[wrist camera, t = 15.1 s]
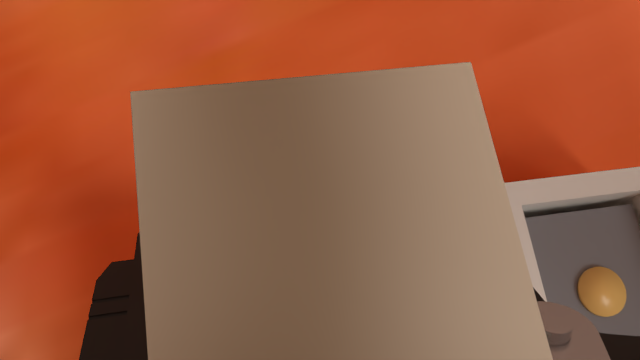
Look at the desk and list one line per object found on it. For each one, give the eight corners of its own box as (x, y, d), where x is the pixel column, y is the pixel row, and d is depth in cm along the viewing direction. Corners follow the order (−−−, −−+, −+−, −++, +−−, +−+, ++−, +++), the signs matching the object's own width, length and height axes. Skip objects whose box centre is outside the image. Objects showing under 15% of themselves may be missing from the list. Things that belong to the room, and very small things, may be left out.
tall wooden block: (350, 243, 17) (470, 62, 8) (380, 404, 16) (567, 411, 7) (195, 264, 17) (130, 91, 7) (212, 434, 15) (157, 488, 6)
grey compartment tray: (608, 192, 35) (664, 163, 31) (671, 396, 32) (746, 399, 27) (157, 249, 31) (143, 226, 26) (176, 490, 28) (163, 513, 23)
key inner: (618, 209, 32) (634, 202, 31) (667, 368, 30) (687, 368, 28) (510, 224, 31) (522, 217, 30) (552, 390, 29) (567, 390, 27)
